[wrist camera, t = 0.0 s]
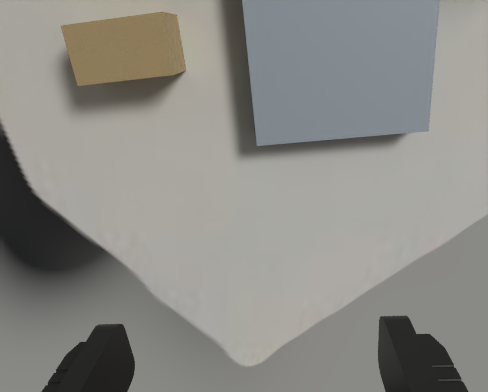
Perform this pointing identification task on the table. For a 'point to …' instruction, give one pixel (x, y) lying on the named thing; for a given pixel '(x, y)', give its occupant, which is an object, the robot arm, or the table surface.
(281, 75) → the slate board
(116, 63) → the tan rectangular block
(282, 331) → the table surface
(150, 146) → the table surface
